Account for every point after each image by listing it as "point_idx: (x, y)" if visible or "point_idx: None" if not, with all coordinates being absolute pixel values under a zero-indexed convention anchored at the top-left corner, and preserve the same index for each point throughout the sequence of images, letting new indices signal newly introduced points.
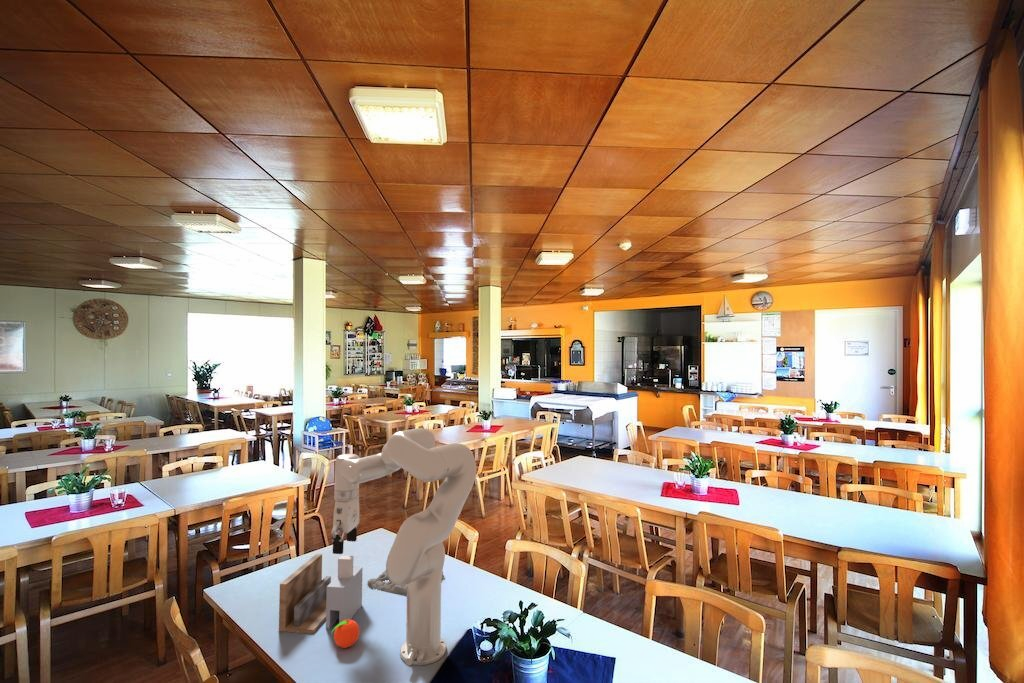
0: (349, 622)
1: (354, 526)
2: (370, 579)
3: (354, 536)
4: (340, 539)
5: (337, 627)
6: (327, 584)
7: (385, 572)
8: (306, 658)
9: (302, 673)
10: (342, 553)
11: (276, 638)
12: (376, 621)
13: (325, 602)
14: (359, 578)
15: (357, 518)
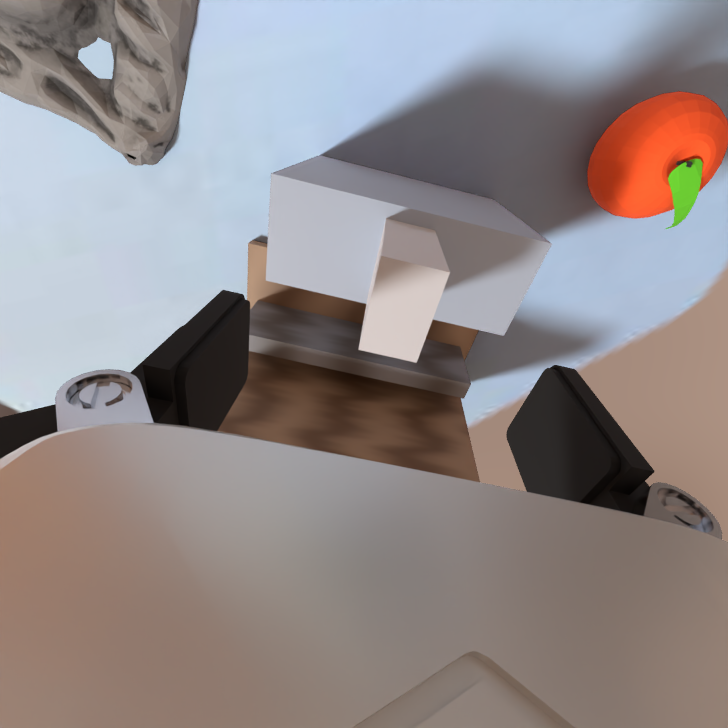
0: (687, 150)
1: (425, 498)
2: (130, 150)
3: (226, 334)
4: (712, 530)
5: (669, 207)
6: (268, 327)
7: (19, 77)
8: (631, 284)
9: (713, 276)
10: (566, 367)
11: (483, 383)
12: (473, 38)
13: (317, 303)
14: (327, 178)
15: (111, 672)
